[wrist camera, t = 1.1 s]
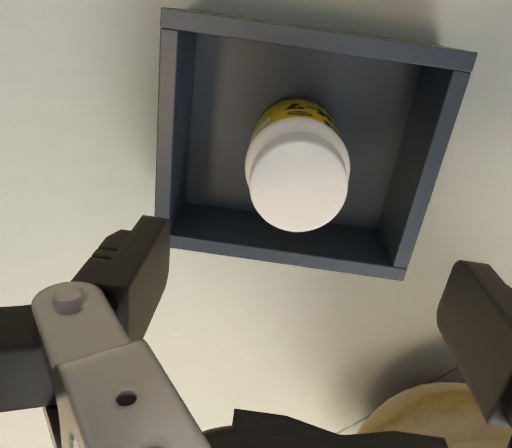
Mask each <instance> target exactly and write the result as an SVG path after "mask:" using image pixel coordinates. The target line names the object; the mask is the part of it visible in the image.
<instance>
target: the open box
mask: <svg viewBox="0 0 512 448" xmlns="http://www.w3.org/2000/svg"><path fill="white" fill-rule="evenodd" d="M476 57H477V53H476V52H471V51H465V50H460V49H455V48H449V47H444V46H439V45H432V44H425V43H418V42H411V41H404V40H397V39H390V38H383V37H376V36H369V35H362V34H355V33H348V32H341V31H334V30H328V29H321V28H314V27H307V26H300V25H293V24H286V23H279V22H272V21H265V20H258V19H251V18H244V17H237V16H230V15H223V14H217V13H210V12H203V11H196V10H189V9H178V8H165V7H162V8H161V30H160V62H159V93H158V125H157V156H156V187H155V217H160V218H167V219H170V221H171V236H170V248H176V249H183V250H190V251H197V252H204V253H211V254H218V255H226V256H233V257H240V258H247V259H254V260H261V261H268V262H275V263H282V264H289V265H296V266H303V267H310V268H317V269H324V270H331V271H338V272H345V273H352V274H359V275H366V276H373V277H380V278H387V279H394V280H401V281H403V279H404V276H405V273H406V270H407V267H408V264H409V261H410V258H411V255H412V252H413V249H414V246H415V243H416V240H417V237H418V234H419V231H420V228H421V224H422V221H423V218H424V215H425V212H426V209H427V206H428V203H429V200H430V197H431V194H432V191H433V188H434V185H435V182H436V179H437V176H438V173H439V169H440V166H441V163H442V160H443V157H444V154H445V151H446V148H447V145H448V142H449V139H450V136H451V133H452V130H453V127H454V124H455V121H456V117H457V114H458V111H459V108H460V105H461V102H462V99H463V96H464V93H465V90H466V87H467V84H468V81H469V78H470V75H471V73H470V72H472V69H473V66H474V63H475V60H476ZM288 97H303V98H307V99H310V100H313V101H315V102H317V103H319V104H320V105H322V106H323V107H324V108H325V109H326V110H327V111H328V112H329V114H330V115H331V116H332V118H333V120H334V122H335V124H336V126H337V128H338V131H339V133H340V135H341V137H342V139H343V141H344V143H345V145H346V148H347V151H348V155H349V160H350V175H349V180H348V192H347V196H346V199H345V202H344V204H343V206H342V208H341V209H340V211H339V212H338V214H337V215H336V216H335V217H334V218H333V219H332V220H331V221H329V222H328V223H326V224H325V225H323V226H321V227H319V228H317V229H314V230H310V231H304V232H291V231H285V230H282V229H279V228H277V227H275V226H273V225H271V224H270V223H268V222H267V221H265V220H264V219H263V218H262V217H261V215H260V214H259V213H258V212H257V210H256V209H255V207H254V205H253V202H252V200H251V196H250V190H249V186H248V184H247V181H246V176H245V159H246V155H247V151H248V148H249V145H250V142H251V138H252V135H253V132H254V129H255V126H256V123H257V121H258V119H259V117H260V116H261V114H262V113H263V112H264V111H265V110H266V109H267V108H268V107H269V106H270V105H272V104H273V103H275V102H277V101H279V100H281V99H284V98H288Z"/></svg>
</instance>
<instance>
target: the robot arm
mask: <svg viewBox="0 0 512 448" xmlns="http://www.w3.org/2000/svg"><path fill="white" fill-rule="evenodd" d="M170 236H171V221H170V219H167V218H160V217H153V216H146V215H143V216H142V217H141V218H140V220H139V221H138V222H137V224H136V225H135V226H134V228H133V229H132V231H128V230H119V231H117V232H115V233H113V234H111V235H110V236H108V237H106V238H105V240H104V241H103V242H102V243H101V245H100V246H99V248H98V249H97V250H96V251H95V252H94V253H93V254H92V257H90V258H89V259H88V261H87V262H86V263H85V264H84V266H83V267H82V268H81V269H80V271H79V272H78V273H77V274H76V275H75V277H74V278H73V279H72V280H71V282H63V283H59V284H55V285H52V286H49V287H47V288H45V289H43V290H42V291H40V292H39V293H38V294H37V295H36V296H35V297H34V298H33V300H32V304H31V305H24V306H12V307H0V412H6V411H14V410H21V409H29V408H36V407H43V411H44V414H45V418H46V421H47V425H48V428H49V432H50V436H51V439H52V443H53V446H54V448H448V445H447V443H446V440H445V438H443V437H436V436H428V435H421V434H414V433H407V432H399V431H384V432H374V433H363V434H353V435H339V434H335V433H333V432H330V431H327V430H324V429H321V428H319V427H316V426H313V425H310V424H308V423H305V422H302V421H299V420H296V419H294V418H291V417H288V416H284V415H277V414H269V413H262V412H255V411H248V410H240V409H234V416H233V422H232V426H223V427H218V428H213V429H209V430H206V431H203V432H202V431H201V429H200V428H199V426H198V425H197V423H196V421H195V420H194V418H193V416H192V415H191V413H190V412H189V410H188V408H187V407H186V405H185V403H184V402H183V400H182V398H181V397H180V395H179V394H178V392H177V390H176V389H175V387H174V385H173V384H172V382H171V381H170V379H169V377H168V376H167V374H166V372H165V371H164V369H163V368H162V366H161V364H160V363H159V361H158V359H157V358H156V356H155V354H154V353H153V351H152V350H151V348H150V346H149V345H148V343H147V342H146V341H145V340H144V339H143V337H144V335H145V333H146V330H147V328H148V326H149V324H150V321H151V319H152V317H153V315H154V312H155V310H156V308H157V305H158V303H159V301H160V299H161V296H162V294H163V292H164V289H165V286H166V283H167V278H168V272H169V256H170ZM437 325H438V328H439V330H440V332H441V334H442V336H443V338H444V340H445V342H446V344H447V346H448V348H449V350H450V352H451V354H452V356H453V358H454V360H455V362H456V364H457V366H458V368H459V370H460V372H461V374H462V376H463V378H464V380H465V382H466V384H467V386H468V388H469V390H470V392H471V394H472V396H473V398H474V400H475V402H476V404H477V405H478V407H479V409H480V411H481V413H482V415H483V417H484V419H485V421H486V423H487V424H488V425H496V426H503V427H510V428H511V429H512V288H511V287H509V286H508V285H506V284H505V283H504V282H503V280H502V279H501V278H500V277H499V276H498V275H497V273H496V272H495V271H494V270H493V269H492V267H491V266H490V265H488V264H484V263H477V262H470V261H463V260H459V261H457V262H456V263H455V264H454V266H453V268H452V271H451V273H450V276H449V279H448V281H447V284H446V287H445V290H444V292H443V295H442V298H441V300H440V303H439V306H438V310H437ZM505 448H512V433H511V435H510V437H509V439H508V441H507V443H506V445H505Z"/></svg>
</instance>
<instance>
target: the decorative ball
mask: <svg viewBox="0 0 512 448" xmlns="http://www.w3.org/2000/svg"><path fill="white" fill-rule="evenodd" d="M384 431H399V432H407V433H414V434H421V435H428V436H436V437H443V438H445V440H446V443H447V445H448V448H505V445H506V443H507V441H508V439H509V437H510V435H511V433H512V429H511V428H510V427H503V426H496V425H488V424H487V423H486V421H485V419H484V417H483V415H482V413H481V411H480V409H479V407H478V405H477V404H476V402H475V400H474V398H473V396H472V394H471V392H470V390H469V388H468V386H467V384H466V383H458V382H434V383H428V384H422V385H418V386H415V387H412V388H409V389H406V390H403V391H401V392H400V393H398V394H396V395H394V396H393V397H391V398H389V399H388V400H386V401H385V402H384V403H383V404H382V405H381V406H379V407H378V408H377V409H376V410H375V411H374V412H373V413H372V414H371V415H370V417H369V418H368V419H367V421H366V422H365V423H364V424H363V426H362V427H361V428H360V430H359V431H358V434H363V433H374V432H384Z"/></svg>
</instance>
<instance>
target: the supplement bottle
mask: <svg viewBox="0 0 512 448" xmlns="http://www.w3.org/2000/svg"><path fill="white" fill-rule="evenodd" d="M349 175H350V160H349V155H348V151H347V148H346V145H345V143H344V141H343V139H342V137H341V135H340V133H339V131H338V128H337V126H336V124H335V122H334V120H333V118H332V116H331V115H330V114H329V112H328V111H327V110H326V109H325V108H324V107H323V106H322V105H320V104H319V103H317V102H315V101H313V100H310V99H307V98H303V97H288V98H284V99H281V100H279V101H277V102H275V103H273V104H272V105H270V106H269V107H268V108H267V109H266V110H265V111H264V112H263V113H262V114H261V116H260V117H259V119H258V121H257V123H256V126H255V129H254V132H253V135H252V138H251V142H250V145H249V148H248V151H247V155H246V159H245V176H246V181H247V184H248V186H249V190H250V196H251V200H252V202H253V205H254V207H255V209H256V210H257V212H258V213H259V214H260V215H261V217H262V218H263V219H264V220H265V221H267V222H268V223H270V224H271V225H273V226H275V227H277V228H279V229H282V230H285V231H291V232H304V231H310V230H314V229H317V228H319V227H321V226H323V225H325V224H326V223H328V222H329V221H331V220H332V219H333V218H334V217H335V216H336V215H337V214H338V212H339V211H340V209H341V208H342V206H343V204H344V202H345V199H346V196H347V192H348V180H349Z"/></svg>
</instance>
